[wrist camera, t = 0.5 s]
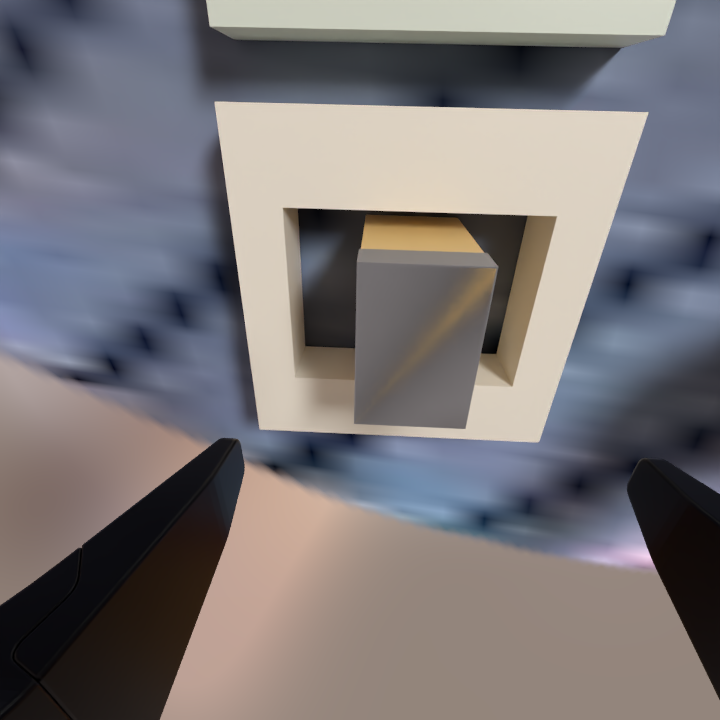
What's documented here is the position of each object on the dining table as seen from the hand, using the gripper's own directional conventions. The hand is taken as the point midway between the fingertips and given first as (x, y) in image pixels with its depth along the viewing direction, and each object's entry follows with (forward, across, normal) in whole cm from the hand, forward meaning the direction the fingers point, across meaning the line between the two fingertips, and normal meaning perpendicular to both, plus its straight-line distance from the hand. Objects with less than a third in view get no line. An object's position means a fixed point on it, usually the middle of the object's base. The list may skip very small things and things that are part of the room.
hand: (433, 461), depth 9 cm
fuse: (+12, 0, 0) cm, 12 cm away
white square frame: (+12, 0, 0) cm, 12 cm away
